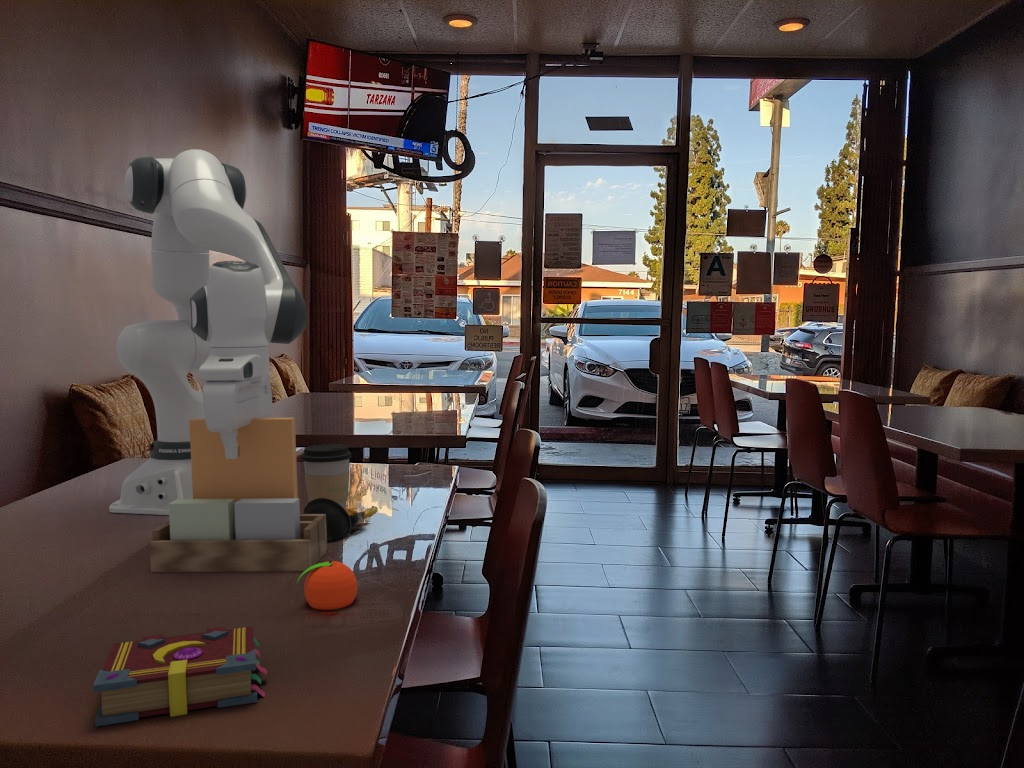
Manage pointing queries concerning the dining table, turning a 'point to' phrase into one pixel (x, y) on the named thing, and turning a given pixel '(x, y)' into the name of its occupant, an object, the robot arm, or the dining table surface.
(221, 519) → the offcut sage
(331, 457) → the coffee cup
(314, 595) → the clementine
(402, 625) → the dining table surface
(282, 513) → the offcut slate
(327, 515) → the fried shrimp in bowl
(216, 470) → the tall sheet
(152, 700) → the decorative book
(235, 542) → the rack
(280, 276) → the robot arm
